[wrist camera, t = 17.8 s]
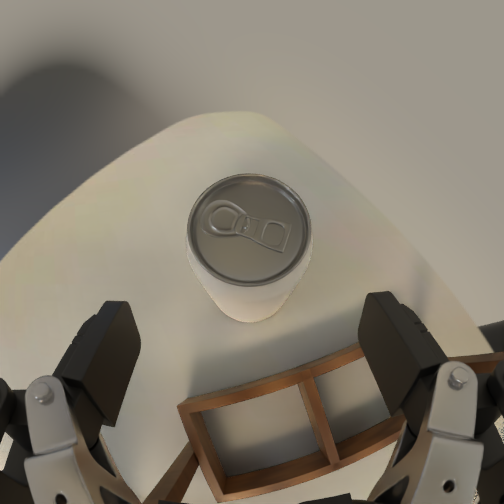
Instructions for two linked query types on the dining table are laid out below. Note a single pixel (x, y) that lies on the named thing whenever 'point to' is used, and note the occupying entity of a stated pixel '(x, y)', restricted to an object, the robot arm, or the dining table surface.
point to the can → (249, 244)
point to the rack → (292, 471)
